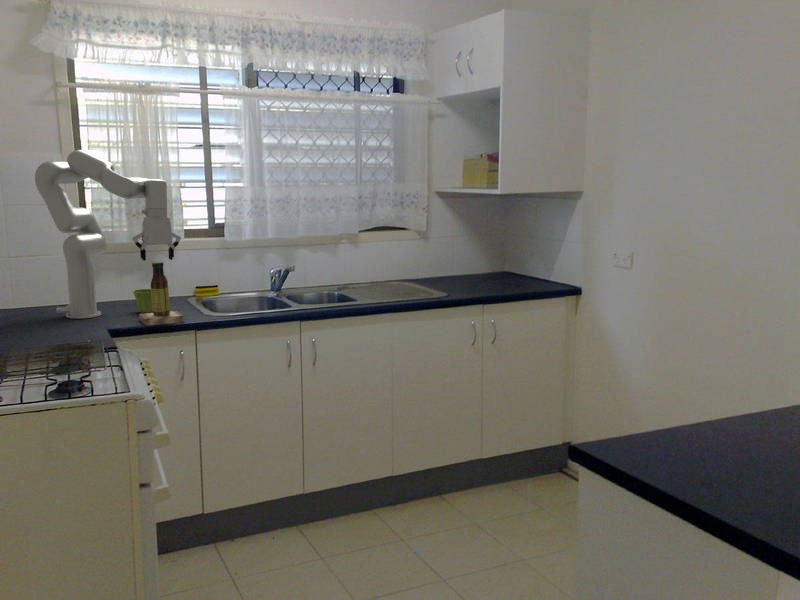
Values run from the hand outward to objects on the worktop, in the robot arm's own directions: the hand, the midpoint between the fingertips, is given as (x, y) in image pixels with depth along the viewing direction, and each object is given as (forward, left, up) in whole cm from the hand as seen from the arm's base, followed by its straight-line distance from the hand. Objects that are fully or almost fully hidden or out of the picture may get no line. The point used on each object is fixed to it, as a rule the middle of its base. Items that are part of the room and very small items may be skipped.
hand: (157, 259), depth 276 cm
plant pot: (-1, +22, -23) cm, 32 cm away
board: (0, 0, -23) cm, 23 cm away
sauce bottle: (0, 0, -21) cm, 21 cm away
